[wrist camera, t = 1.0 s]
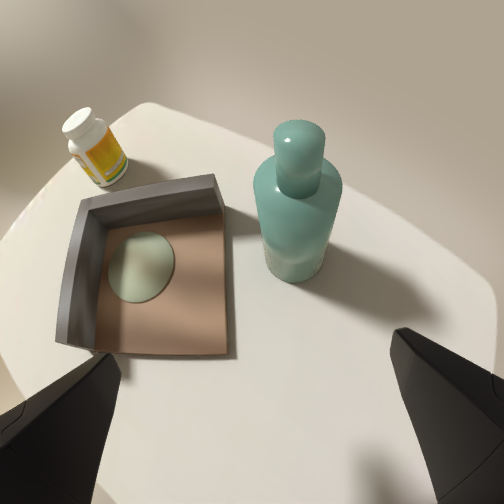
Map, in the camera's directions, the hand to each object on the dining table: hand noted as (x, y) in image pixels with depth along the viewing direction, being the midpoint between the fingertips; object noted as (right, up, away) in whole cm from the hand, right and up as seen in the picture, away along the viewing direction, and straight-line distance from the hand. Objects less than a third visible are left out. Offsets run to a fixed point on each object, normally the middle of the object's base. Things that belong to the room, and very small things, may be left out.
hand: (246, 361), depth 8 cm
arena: (-9, +1, +17) cm, 19 cm away
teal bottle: (+4, +3, +16) cm, 17 cm away
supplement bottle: (-18, +13, +24) cm, 33 cm away
